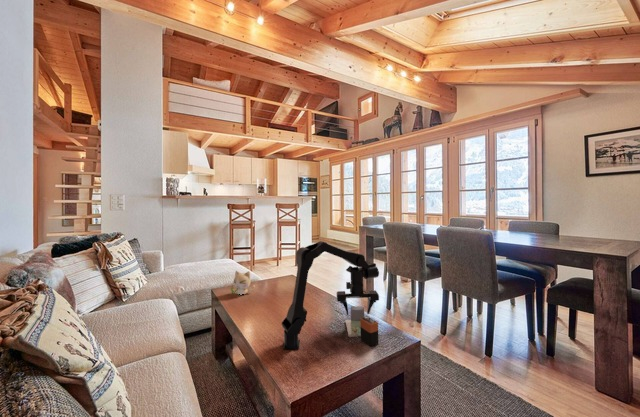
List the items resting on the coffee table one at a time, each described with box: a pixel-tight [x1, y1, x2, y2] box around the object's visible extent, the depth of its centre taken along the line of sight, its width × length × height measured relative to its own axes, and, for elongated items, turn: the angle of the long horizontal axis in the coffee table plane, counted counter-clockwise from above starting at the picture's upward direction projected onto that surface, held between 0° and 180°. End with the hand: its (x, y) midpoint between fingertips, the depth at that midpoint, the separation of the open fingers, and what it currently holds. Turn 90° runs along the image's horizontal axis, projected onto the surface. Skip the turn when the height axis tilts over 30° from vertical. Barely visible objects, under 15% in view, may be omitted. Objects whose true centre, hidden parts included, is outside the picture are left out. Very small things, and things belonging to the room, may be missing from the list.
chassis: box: [345, 319, 361, 338], centre depth 122 cm, size 14×10×4 cm
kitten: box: [230, 270, 256, 296], centre depth 172 cm, size 15×10×15 cm
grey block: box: [350, 305, 365, 328], centre depth 122 cm, size 12×6×6 cm, turn 172°
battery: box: [360, 315, 379, 347], centre depth 110 cm, size 4×7×10 cm, turn 28°
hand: (357, 314), depth 122 cm, fingers open, 9 cm apart
